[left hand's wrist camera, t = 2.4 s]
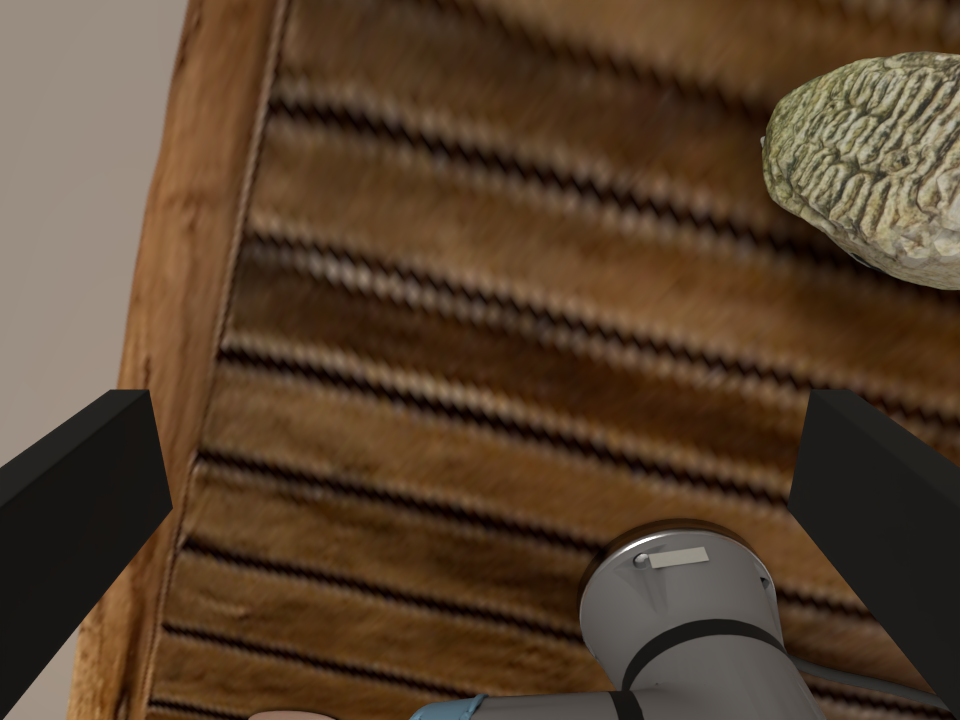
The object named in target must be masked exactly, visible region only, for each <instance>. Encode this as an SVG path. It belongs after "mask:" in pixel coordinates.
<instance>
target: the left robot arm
mask: <svg viewBox="0 0 960 720" xmlns="http://www.w3.org/2000/svg"><path fill="white" fill-rule="evenodd" d="M172 509H173V506H172V501H171V496H170V491H169V486H168V481H167V476H166V471H165V466H164V462H163V457H162V452H161V447H160V442H159V437H158V432H157V427H156V422H155V417H154V412H153V407H152V402H151V397H150V392H149V390H109V391H108V392H106V393H105V394H103V395H102V396H101V397H99V398H98V399H96V400H95V401H94V402H92V403H91V404H89V405H88V406H87V407H85V408H84V409H82V410H81V411H80V412H78V413H77V414H75V415H74V416H73V417H71V418H70V419H68V420H67V421H66V422H64V423H63V424H61V425H60V426H58V427H57V428H56V429H54V430H53V431H52V432H50V433H49V434H47V435H46V436H44V437H43V438H42V439H40V440H39V441H37V442H36V443H35V444H33V445H32V446H30V447H29V448H28V449H26V450H25V451H23V452H22V453H21V454H19V455H18V456H16V457H15V458H13V459H12V460H11V461H9V462H8V463H7V464H5V465H4V466H2V467H1V468H0V720H3V719H4V718H5V716H6V715H7V714H8V713H9V711H10V710H11V709H12V708H13V706H14V705H15V704H16V703H17V701H18V700H19V699H20V698H21V696H22V695H23V694H24V693H25V692H26V690H27V689H28V688H29V686H30V685H31V684H32V683H33V682H34V680H35V679H36V678H37V677H38V675H39V674H40V673H41V672H42V670H43V669H44V668H45V667H46V665H47V664H48V663H49V662H50V660H51V659H52V658H53V657H54V655H55V654H56V653H57V652H58V651H59V649H60V648H61V647H62V645H63V644H64V643H65V642H66V641H67V639H68V638H69V637H70V636H71V634H72V633H73V632H74V631H75V629H76V628H77V627H78V626H79V624H80V623H81V622H82V621H83V619H84V618H85V617H86V616H87V614H88V613H89V612H90V611H91V609H92V608H93V607H94V606H95V605H96V603H97V602H98V601H99V600H100V598H101V597H102V596H103V595H104V593H105V592H106V591H107V590H108V588H109V587H110V586H111V585H112V583H113V582H114V581H115V580H116V578H117V577H118V576H119V575H120V573H121V572H122V571H123V570H124V568H125V567H126V566H127V565H128V564H129V562H130V561H131V560H132V559H133V557H134V556H135V555H136V554H137V552H138V551H139V550H140V549H141V547H142V546H143V545H144V544H145V542H146V541H147V540H148V539H149V537H150V536H151V535H152V534H153V532H154V531H155V530H156V529H157V527H158V526H159V525H160V524H161V523H162V521H163V520H164V519H165V518H166V516H167V515H168V514H169V513H170V511H171V510H172ZM787 509H788V510H789V511H790V513H791V514H792V515H793V516H794V518H795V519H796V520H797V521H798V523H799V524H800V525H801V526H802V527H803V529H804V530H805V531H806V532H807V534H808V535H809V536H810V537H811V539H812V540H813V541H814V542H815V544H816V545H817V546H818V547H819V549H820V550H821V551H822V552H823V554H824V555H825V556H826V557H827V559H828V560H829V561H830V562H831V564H832V565H833V566H834V567H835V568H836V570H837V571H838V572H839V573H840V575H841V576H842V577H843V578H844V580H845V581H846V582H847V583H848V585H849V586H850V587H851V588H852V590H853V591H854V592H855V593H856V595H857V596H858V597H859V598H860V600H861V601H862V602H863V603H864V605H865V606H866V607H867V608H868V609H869V611H870V612H871V613H872V614H873V616H874V617H875V618H876V619H877V621H878V622H879V623H880V624H881V626H882V627H883V628H884V629H885V631H886V632H887V633H888V634H889V636H890V637H891V638H892V639H893V641H894V642H895V643H896V644H897V646H898V647H899V648H900V649H901V651H902V652H903V653H904V654H905V655H906V657H907V658H908V659H909V660H910V662H911V663H912V664H913V665H914V667H915V668H916V669H917V670H918V672H919V673H920V674H921V675H922V677H923V678H924V679H925V680H926V682H927V683H928V684H929V685H930V687H931V688H932V689H933V690H934V692H935V693H936V694H937V695H934V694H931V693H928V692H924V691H921V690H917V689H913V688H910V687H906V686H903V685H900V684H896V683H893V682H889V681H885V680H881V679H876V678H872V677H867V676H862V675H857V674H852V673H847V672H843V671H839V670H835V669H831V668H827V667H823V666H820V665H817V664H814V663H811V662H808V661H805V660H803V659H800V658H798V657H795V656H792V655H790V654H787V652H786V650H785V648H784V644H783V638H782V631H781V625H780V619H779V613H778V606H777V601H776V593H775V587H774V584H773V581H772V579H771V576H770V574H769V572H768V571H767V569H766V568H765V566H764V565H763V563H762V562H761V560H760V558H759V557H758V555H757V554H756V552H755V551H754V550H753V548H752V547H751V546H750V545H749V544H748V543H747V542H746V541H745V540H744V539H743V538H741V537H740V536H739V535H737V534H736V533H734V532H732V531H731V530H729V529H727V528H725V527H723V526H720V525H717V524H714V523H711V522H707V521H702V520H696V519H667V520H661V521H655V522H652V523H648V524H644V525H642V526H639V527H636V528H634V529H632V530H629V531H627V532H626V533H624V534H622V535H620V536H618V537H617V538H615V539H614V540H612V541H611V542H610V543H609V544H607V545H606V546H605V547H604V548H603V549H602V550H601V551H600V552H599V553H598V554H597V555H596V556H595V557H594V558H593V560H592V561H591V562H590V564H589V565H588V567H587V569H586V570H585V572H584V574H583V576H582V579H581V581H580V585H579V588H578V593H577V612H578V617H579V622H580V627H581V632H582V636H583V639H584V641H585V644H586V646H587V648H588V649H589V651H590V653H591V654H592V655H593V657H594V658H595V659H596V660H597V662H598V663H599V664H600V665H601V667H602V668H603V669H604V671H605V673H606V674H607V676H608V678H609V679H610V681H611V682H612V684H613V685H614V687H615V688H616V690H617V691H602V692H583V693H563V694H543V695H524V696H504V697H489V695H488V694H479V695H477V696H476V697H475V698H471V699H462V700H453V701H444V702H435V703H431V704H428V705H425V706H424V707H422V708H420V709H419V710H418V711H417V712H416V713H415V714H414V715H413V716H412V717H411V718H410V720H827V719H826V717H825V715H824V714H823V712H822V710H821V709H820V707H819V705H818V704H817V702H816V700H815V699H814V697H813V695H812V694H811V692H810V690H809V689H808V687H807V685H806V684H805V682H804V680H803V679H802V677H801V675H800V673H799V672H798V670H800V671H803V672H805V673H808V674H811V675H814V676H817V677H820V678H824V679H827V680H831V681H835V682H839V683H843V684H848V685H853V686H858V687H863V688H868V689H872V690H877V691H881V692H886V693H890V694H894V695H897V696H901V697H904V698H908V699H911V700H915V701H918V702H922V703H925V704H929V705H932V706H936V707H939V708H942V709H945V710H948V711H950V712H951V713H952V714H953V715H954V716H955V718H956V719H957V720H960V468H959V467H958V466H956V465H955V464H954V463H952V462H951V461H949V460H948V459H947V458H945V457H944V456H942V455H941V454H940V453H938V452H937V451H935V450H934V449H932V448H931V447H930V446H928V445H927V444H925V443H924V442H923V441H921V440H920V439H918V438H917V437H916V436H914V435H913V434H911V433H910V432H909V431H907V430H906V429H904V428H903V427H902V426H900V425H899V424H897V423H896V422H894V421H893V420H892V419H890V418H889V417H887V416H886V415H885V414H883V413H882V412H880V411H879V410H878V409H876V408H875V407H873V406H872V405H871V404H869V403H868V402H866V401H865V400H864V399H862V398H861V397H859V396H858V395H857V394H855V393H854V392H852V391H851V390H811V392H810V397H809V402H808V407H807V412H806V417H805V422H804V427H803V432H802V437H801V442H800V447H799V452H798V457H797V462H796V466H795V471H794V476H793V481H792V486H791V491H790V496H789V501H788V506H787ZM797 669H798V670H797Z"/></svg>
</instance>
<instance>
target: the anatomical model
mask: <svg viewBox="0 0 960 720" xmlns="http://www.w3.org/2000/svg"><path fill="white" fill-rule="evenodd" d="M248 720H335V719H333V718H330V717H328V716H325V715H321V714H316V713H311V712H302V711H268V712H261V713H257V714H255V715H253V716H251V717H250V718H249V719H248Z"/></svg>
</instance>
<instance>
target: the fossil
mask: <svg viewBox="0 0 960 720" xmlns="http://www.w3.org/2000/svg"><path fill="white" fill-rule="evenodd" d="M761 144H762V147H763V150H762V161H763V177H764V181H765V184H766V187H767V190H768V193H769V195H770V197H771V198H772V200H774V201H775V202H776V203H777V204H778V205H779V206H781V207H782V208H783V209H785V210H787V211H789V212H790V213H792V214H794V215H796V216H798V217H800V218H803V219H804V220H806V221H807V222H808V223H810V224H811V225H812V226H814V227H816V228H818V229H819V230H821V231H822V232H824V233H825V234H826V235H827V236H828V237H829V238H830V239H831V240H833V241H834V242H835V243H836V244H837V245H838V246H839V247H840V248H842V249H843V250H844V251H845V252H847V253H848V254H849V255H850V256H852V257H853V258H854V259H856V260H857V261H859V262H860V263H862V264H864V265H866V266H868V267H870V268H872V269H874V270H877V271H879V272H882V273H885V274H888V275H891V276H893V277H896V278H899V279H901V280H903V281H908V282H912V283H915V284H919V285H925V286H930V287H934V288H939V289H944V290H960V55H956V54H944V53H937V52H929V51H924V52H906V53H901V54H897V55H894V56H890V57H886V58H884V57H878V58H873V59H869V58H866V59H862V60H858V61H855V62H854V63H851V64H847V65H845V66H843V67H840V68H838V69H836V70H833V71H831V72H829V73H827V74H825V75H822V76H819V77H816V78H814V79H812V80H810V81H808V82H806V83H805V84H803V85H802V86H801V87H799V88H797V89H793V90H792V91H791V92H790V93H789V94H787V95H786V96H785V97H783V98H782V99H781V100H779V102H778V103H777V105H776V107H775V109H774V111H773V114H772V116H771V118H770V121H769V123H768V125H767V128H766V136H764V137H762V138H761Z"/></svg>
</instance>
